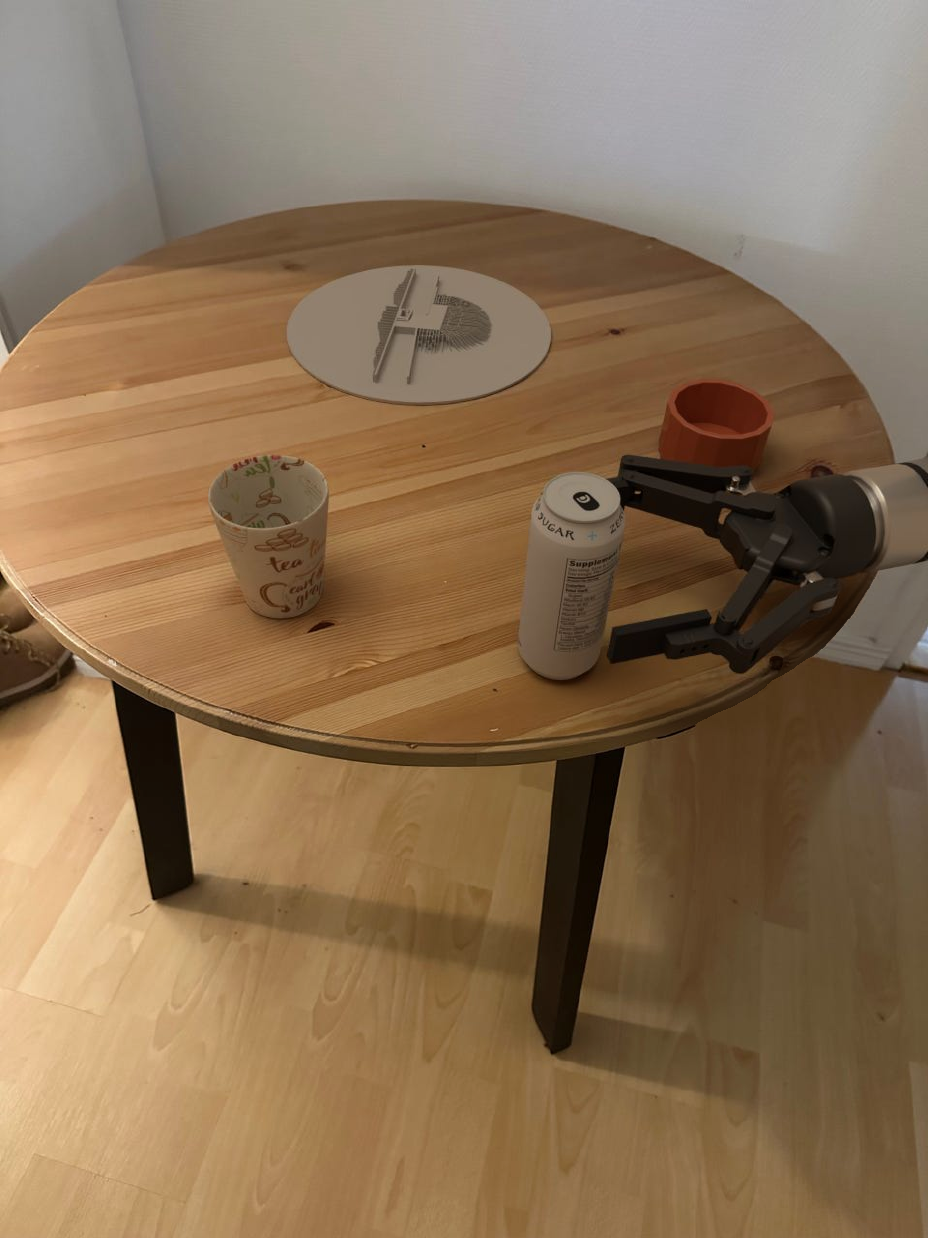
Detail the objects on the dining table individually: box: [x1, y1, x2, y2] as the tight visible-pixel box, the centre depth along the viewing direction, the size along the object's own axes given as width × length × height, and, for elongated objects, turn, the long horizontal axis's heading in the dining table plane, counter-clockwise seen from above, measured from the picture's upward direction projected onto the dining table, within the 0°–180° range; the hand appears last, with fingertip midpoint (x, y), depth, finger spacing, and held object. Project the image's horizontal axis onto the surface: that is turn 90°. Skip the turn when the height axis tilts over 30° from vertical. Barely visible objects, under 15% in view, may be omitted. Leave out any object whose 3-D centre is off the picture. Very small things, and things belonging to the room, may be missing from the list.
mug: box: [207, 454, 330, 620], centre depth 72 cm, size 8×13×10 cm, turn 14°
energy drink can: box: [517, 471, 627, 681], centre depth 65 cm, size 6×6×15 cm
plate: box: [286, 264, 552, 406], centre depth 101 cm, size 28×28×1 cm
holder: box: [658, 378, 775, 476], centre depth 86 cm, size 9×9×5 cm
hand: (573, 573), depth 65 cm, fingers open, 13 cm apart
